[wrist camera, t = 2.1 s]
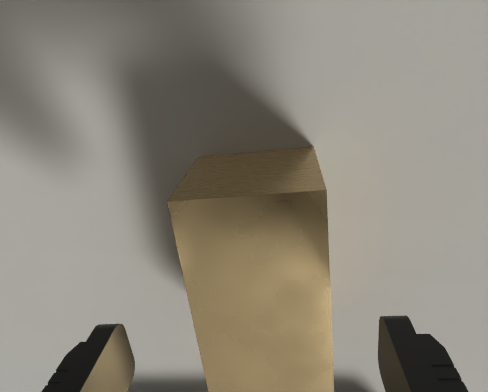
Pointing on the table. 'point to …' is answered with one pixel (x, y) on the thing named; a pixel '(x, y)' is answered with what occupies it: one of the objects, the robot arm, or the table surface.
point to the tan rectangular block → (257, 269)
